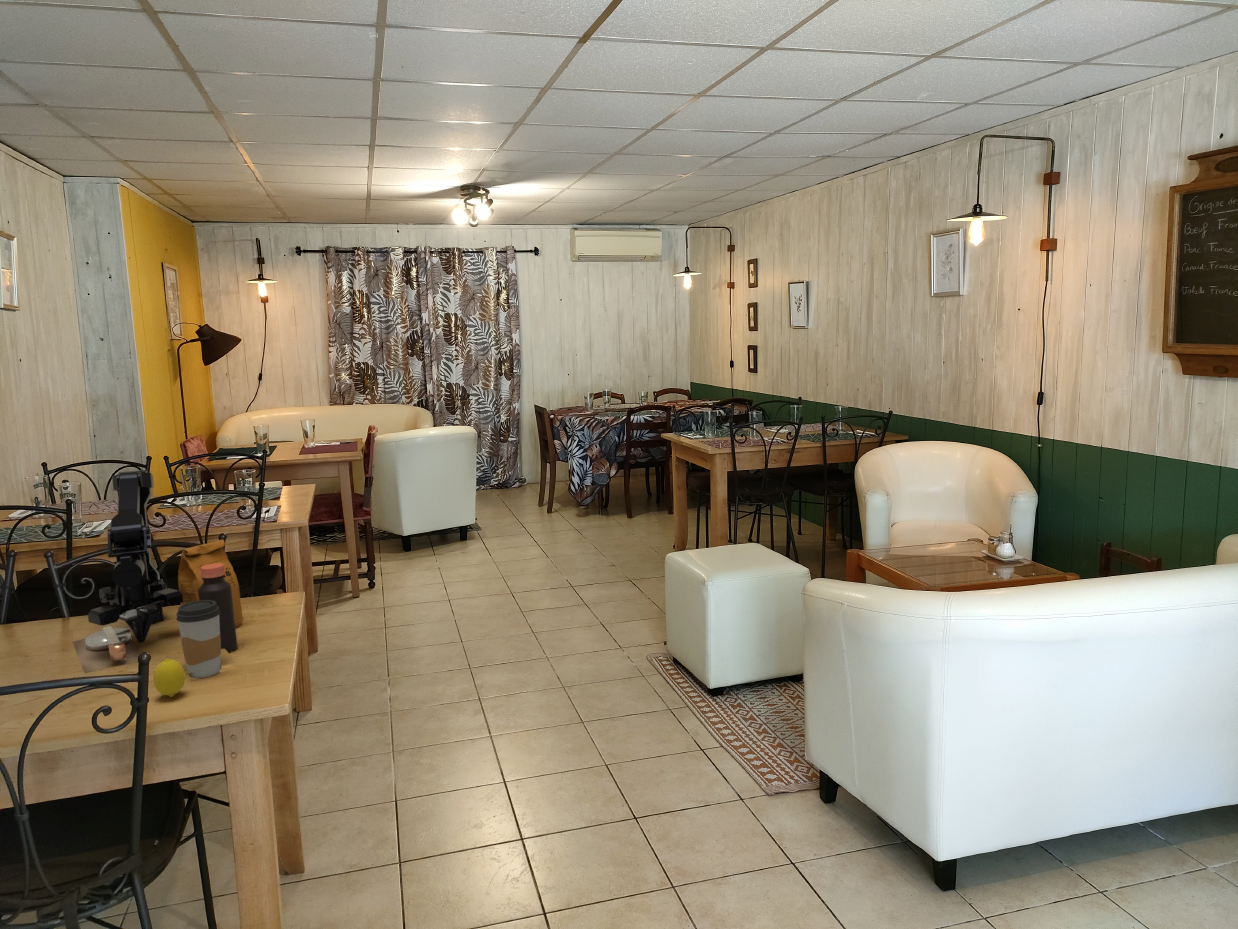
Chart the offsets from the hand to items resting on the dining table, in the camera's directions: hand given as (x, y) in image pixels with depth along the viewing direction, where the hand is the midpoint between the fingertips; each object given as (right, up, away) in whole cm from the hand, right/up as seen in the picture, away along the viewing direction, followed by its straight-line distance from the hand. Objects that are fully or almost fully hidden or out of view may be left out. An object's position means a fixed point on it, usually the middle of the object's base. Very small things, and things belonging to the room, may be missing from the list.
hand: (141, 642), depth 194 cm
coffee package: (+10, 0, +14) cm, 17 cm away
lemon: (+20, -6, -25) cm, 32 cm away
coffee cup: (+21, -4, -13) cm, 25 cm away
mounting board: (-7, -3, -1) cm, 8 cm away
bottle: (+18, -2, 0) cm, 18 cm away
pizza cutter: (-5, -1, -3) cm, 6 cm away
